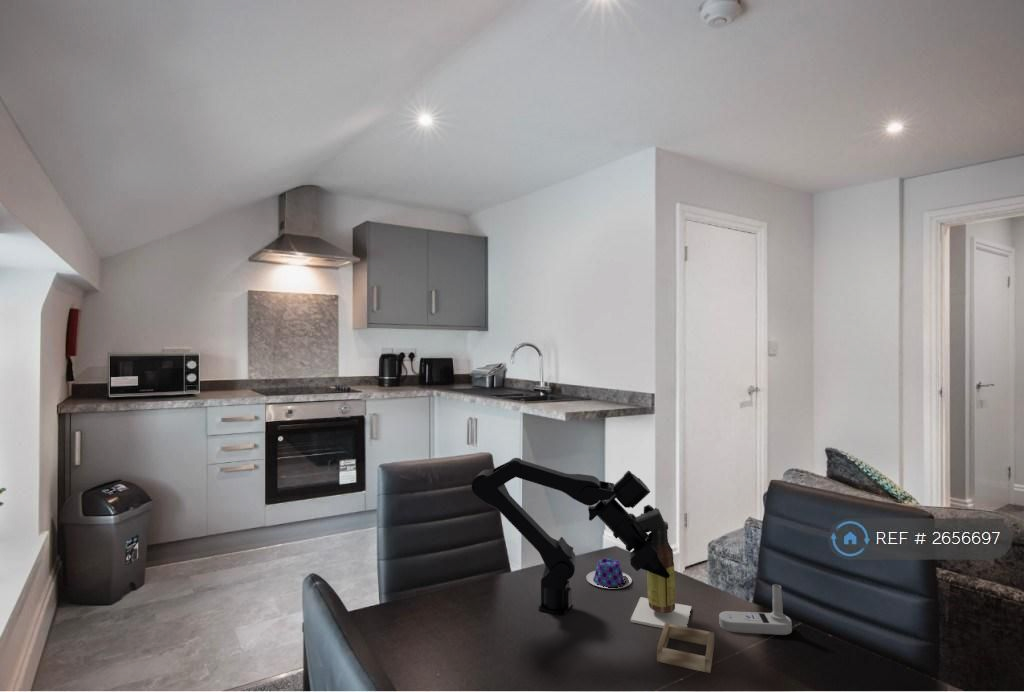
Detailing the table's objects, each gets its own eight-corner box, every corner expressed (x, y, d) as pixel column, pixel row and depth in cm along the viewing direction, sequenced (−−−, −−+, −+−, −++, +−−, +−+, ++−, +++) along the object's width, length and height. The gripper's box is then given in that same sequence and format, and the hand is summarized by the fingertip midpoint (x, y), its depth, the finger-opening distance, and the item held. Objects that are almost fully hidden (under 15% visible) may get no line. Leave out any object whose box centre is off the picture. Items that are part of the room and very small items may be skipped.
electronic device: (715, 578, 126) (786, 581, 123) (717, 621, 126) (787, 625, 123) (720, 589, 121) (793, 592, 118) (722, 633, 121) (795, 637, 118)
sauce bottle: (669, 601, 131) (669, 517, 131) (679, 614, 125) (679, 526, 125) (642, 602, 131) (642, 518, 131) (651, 615, 124) (651, 526, 125)
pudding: (583, 572, 153) (583, 553, 153) (627, 572, 153) (626, 553, 153) (589, 591, 141) (589, 571, 141) (636, 591, 141) (636, 571, 141)
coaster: (630, 622, 125) (630, 619, 125) (640, 599, 136) (640, 597, 136) (685, 632, 120) (685, 630, 120) (691, 608, 131) (691, 606, 131)
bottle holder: (656, 661, 109) (656, 648, 109) (665, 634, 119) (665, 623, 119) (710, 673, 105) (710, 660, 105) (714, 644, 115) (714, 632, 115)
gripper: (646, 509, 119) (699, 564, 117) (641, 487, 138) (686, 534, 136) (609, 543, 121) (661, 598, 119) (609, 517, 139) (653, 564, 137)
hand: (666, 571), depth 128 cm, fingers closed on sauce bottle, 6 cm apart
